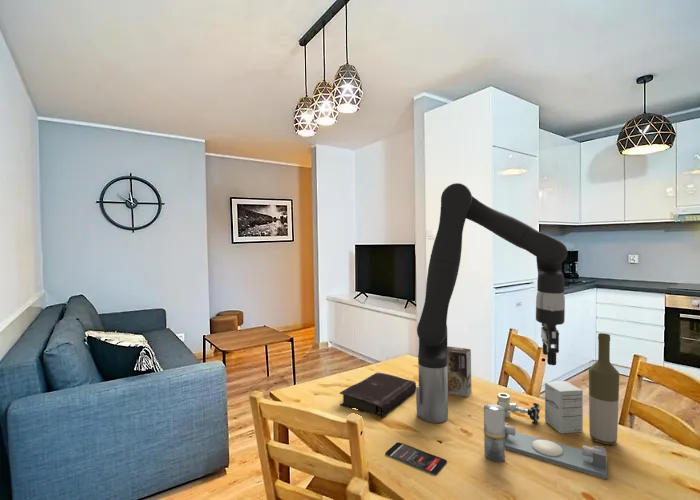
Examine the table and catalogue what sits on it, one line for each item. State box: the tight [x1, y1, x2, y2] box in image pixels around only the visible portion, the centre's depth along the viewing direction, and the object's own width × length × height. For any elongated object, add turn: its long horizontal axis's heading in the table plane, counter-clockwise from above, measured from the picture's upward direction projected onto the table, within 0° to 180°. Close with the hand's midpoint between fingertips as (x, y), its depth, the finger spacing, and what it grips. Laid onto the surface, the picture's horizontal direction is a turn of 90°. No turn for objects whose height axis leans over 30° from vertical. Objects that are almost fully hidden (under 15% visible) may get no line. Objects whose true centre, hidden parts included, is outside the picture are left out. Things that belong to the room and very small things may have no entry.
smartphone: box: [384, 441, 448, 477], centre depth 95 cm, size 7×1×15 cm
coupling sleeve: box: [483, 403, 506, 464], centre depth 94 cm, size 5×5×13 cm
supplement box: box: [544, 380, 584, 434], centre depth 109 cm, size 7×7×13 cm
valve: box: [496, 392, 541, 426], centre depth 115 cm, size 7×7×12 cm
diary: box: [339, 372, 417, 419], centre depth 132 cm, size 19×25×5 cm
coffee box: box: [447, 345, 473, 398], centre depth 136 cm, size 9×6×16 cm
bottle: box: [588, 332, 620, 446], centre depth 101 cm, size 7×7×30 cm
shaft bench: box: [505, 421, 608, 480], centre depth 96 cm, size 26×9×4 cm, turn 54°
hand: (549, 359), depth 109 cm, fingers open, 8 cm apart
